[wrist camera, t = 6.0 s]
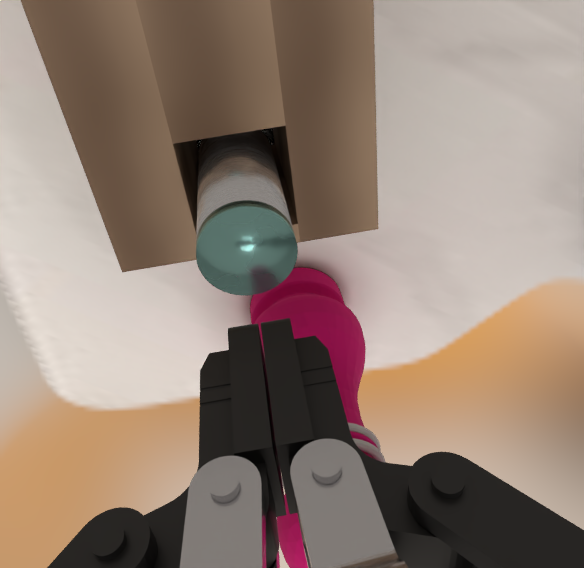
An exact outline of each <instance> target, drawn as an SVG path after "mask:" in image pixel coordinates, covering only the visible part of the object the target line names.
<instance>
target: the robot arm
mask: <svg viewBox="0 0 584 568" xmlns="http://www.w3.org/2000/svg"><path fill="white" fill-rule="evenodd" d="M261 332H262V340H263V346H262V341H261V335H260V330H259V325H258V323H257V324H251V325H245V326H239V327H233V328H228V342H229V350H227V351H221V352H215V353H209V355H208V357H207V359H206V361H205V363H204V365H203V367H202V368H201V370H200V391H201V392H200V428H199V432H200V434H199V467H198V470H197V473H196V474H195V475H194V477H193V479H192V481H191V483H190V486H189V487H188V488H187V489H186V490H185V491H184V492H183V493H182V494H181V495H180V496H179V497H177V498H176V499H175V500H173V501H171V502H170V503H168V504H166V505H164V506H162V507H160V508H158V509H156V510H154V511H152V512H150V513H148V514H146V515H144V516H143V515H142V514H141V513H140V512H138V511H136V510H134V509H131V508H114V509H111V510H107V511H105V512H103V513H101V514H99V515H97V516H96V517H94V518H93V519H92V520H91V521H89V522H88V523H87V524H86V525H85V526H84V527H83V528H82V530H81V531H80V532H79V533H78V534H77V535H76V536H75V537H74V538H73V540H72V541H71V542H70V543H69V544H68V545H67V547H65V548H64V550H63V551H62V552H61V553H60V554H59V555H58V556H57V557H56V559H55V560H54V561H53V562H52V563H51V564H50V565H49V566H48V568H279V567H280V565H279V551H278V550H279V536H278V527H277V518H276V517H278V516H284V515H286V507H285V499H284V492H283V484H284V489H285V494H286V499H287V504H288V509H289V514H294V513H298V519H299V524H300V530H301V535H302V540H303V546H304V551H305V556H306V560H307V565H308V568H584V530H582V529H581V528H579V527H577V526H576V525H574V524H573V523H571V522H569V521H567V520H566V519H564V518H563V517H561V516H559V515H558V514H556V513H554V512H553V511H551V510H550V509H548V508H546V507H545V506H543V505H541V504H540V503H538V502H536V501H535V500H533V499H532V498H530V497H528V496H527V495H525V494H524V493H522V492H520V491H519V490H517V489H515V488H513V487H512V486H510V485H509V484H507V483H505V482H504V481H502V480H501V479H499V478H497V477H496V476H494V475H492V474H491V473H489V472H488V471H486V470H484V469H483V468H481V467H479V466H478V465H476V464H474V463H473V462H471V461H470V460H468V459H466V458H464V457H462V456H460V455H457V454H453V453H449V452H435V453H430V454H427V455H425V456H423V457H422V458H420V459H419V460H418V461H416V462H415V463H414V465H413V466H407V465H399V464H390V463H385V462H381V461H378V460H375V459H373V458H371V457H369V456H368V455H366V454H365V453H364V452H363V451H361V450H360V449H359V448H358V446H357V445H356V444H355V442H354V440H353V438H352V436H351V433H350V429H349V425H348V422H347V418H346V414H345V411H344V407H343V403H342V399H341V396H340V392H339V388H338V385H337V382H336V377H335V374H334V370H333V367H332V362H331V359H330V355H329V351H328V349H327V347H326V346H325V345H324V344H323V343H322V342H321V341H320V340H319V339H318V338H317V337H316V336H309V337H303V338H297V339H294V335H293V330H292V325H291V320H290V318H286V319H280V320H274V321H268V322H262V323H261ZM263 348H264V351H263ZM264 355H265V356H264ZM281 474H282V476H281ZM282 479H283V484H282Z"/></svg>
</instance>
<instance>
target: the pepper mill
mask: <svg viewBox="0 0 584 568" xmlns="http://www.w3.org/2000/svg"><path fill="white" fill-rule="evenodd" d="M250 313H251V323H252V324H257V323H258V325H259V330H260V335H261V341H262V346H263V340H262V332H261V323H262V322H268V321H274V320H280V319H286V318H290V320H291V325H292V330H293V335H294V339H297V338H303V337H309V336H316V337H317V338H318V339H319V340H320V341H321V342H322V343H323V344H324V345H325V346H326V347H327V349H328V351H329V355H330V359H331V362H332V367H333V370H334V374H335V377H336V382H337V385H338V388H339V392H340V396H341V399H342V403H343V407H344V411H345V414H346V418H347V422H348V425H349V429H350V433H351V436H352V438H353V440H354V442H355V444H356V445H357V446H358V448H359V449H360V450H361V451H363V452H364V453H365V454H366V455H368V456H369V457H371V458H373V459H375V460H378V461H381V462H385V459H384V456H383V455H382V453H381V451H380V444H379V441H378V439H377V438H376V436H375V435H374V434H373V432H371V431H370V430H368V429H367V428H365V427H364V425H363V422H362V420H361V416H360V411H359V407H358V402H357V393H358V388H359V384H360V380H361V377H362V373H363V370H364V364H365V341H364V337H363V332H362V328H361V326H360V323H359V321H358V319H357V318H356V316H355V315H354V314H353V313H352V311H351V310H350V309H349V308H347V307H346V306H345V304H344V301H343V298H342V295H341V292H340V290H339V288H338V286H337V284H336V283H335V281H334V280H333V279H331V278H330V277H329V276H328V275H326V274H325V273H323V272H320V271H318V270H315V269H311V268H302V267H300V268H293V270H292V271H291V273H290V274H289V276H288V277H287V278H286V279H285V280H284V281H283V282H282V283H280V284H279V285H278V286H276V287H275V288H273V289H271V290H269V291H266V292H263V293H260V294H255V295H253V297H252V299H251V304H250ZM263 351H264V348H263ZM264 356H265V355H264ZM282 484H283V479H282ZM283 487H284V484H283ZM284 499H285V507H286V515H284V516H278V517H277V527H278V536H279V543H280V547H281V550H282V552H283V555H284V558H285V560H286V562H287V564H288V565H289V567H290V568H308V565H307V560H306V556H305V551H304V546H303V540H302V535H301V530H300V524H299V519H298V513H294V514H289V509H288V504H287V499H286V494H285V495H284Z"/></svg>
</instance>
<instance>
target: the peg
mask: <svg viewBox="0 0 584 568" xmlns="http://www.w3.org/2000/svg"><path fill="white" fill-rule="evenodd" d="M297 253H298V250H297V242H296V238H295V234H294V231H293V227H292V223H291V219H290V216H289V212H288V208H287V205H286V201H285V197H284V193H283V190H282V186H281V182H280V178H279V175H278V171H277V167H276V163H275V160H274V156H273V152H272V149H271V145H270V142H269V140H268V139H267V137H266V136H265V134H264V133H263V132H262V131H261V130H255V131H249V132H243V133H236V134H230V135H224V136H218V137H212V138H205V139H202V142H201V144H200V147H199V157H198V195H197V233H196V259H197V264H198V267H199V269H200V271H201V273H202V275H203V276H204V277H205V279H206V280H207V281H208V282H209V283H211V284H212V285H213V286H215V287H216V288H218V289H220V290H222V291H224V292H227V293H230V294H235V295H255V294H260V293H263V292H266V291H269V290H271V289H273V288H275V287H276V286H278V285H279V284H280V283H282V282H283V281H284V280H285V279H286V278H287V277H288V276H289V274H290V273H291V271H292V270H293V268H294V266H295V263H296V259H297Z"/></svg>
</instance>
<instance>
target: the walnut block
mask: <svg viewBox="0 0 584 568" xmlns="http://www.w3.org/2000/svg"><path fill="white" fill-rule="evenodd" d="M21 2H22V5H23V8H24V10H25V13H26V16H27V18H28V21H29V24H30V27H31V29H32V32H33V35H34V37H35V40H36V43H37V45H38V48H39V51H40V53H41V56H42V59H43V61H44V64H45V67H46V69H47V72H48V75H49V77H50V80H51V83H52V85H53V88H54V91H55V93H56V96H57V99H58V101H59V104H60V107H61V109H62V112H63V115H64V117H65V120H66V123H67V125H68V128H69V131H70V133H71V136H72V139H73V141H74V144H75V147H76V149H77V152H78V155H79V157H80V160H81V163H82V165H83V168H84V171H85V173H86V176H87V179H88V182H89V184H90V187H91V190H92V192H93V195H94V198H95V200H96V203H97V206H98V208H99V211H100V214H101V216H102V219H103V222H104V224H105V227H106V230H107V232H108V235H109V238H110V240H111V243H112V246H113V248H114V251H115V254H116V256H117V259H118V262H119V264H120V267H121V270H122V272H127V271H132V270H138V269H144V268H150V267H156V266H162V265H168V264H174V263H180V262H186V261H192V260H197V259H196V233H197V195H198V157H199V151H198V147H197V143H196V140H199V139H205V138H212V137H218V136H224V135H230V134H236V133H243V132H249V131H255V130H261V129H268V128H273V133H274V140H275V144H274V145H271V149H272V152H273V156H274V160H275V163H276V167H277V171H278V175H279V178H280V182H281V186H282V190H283V193H284V197H285V201H286V205H287V208H288V212H289V216H290V219H291V223H292V227H293V231H294V234H295V238H296V242H297V243H298V242H304V241H310V240H315V239H321V238H327V237H333V236H339V235H345V234H351V233H357V232H363V231H369V230H375V229H378V195H377V148H376V102H375V55H374V8H373V0H21Z"/></svg>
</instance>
